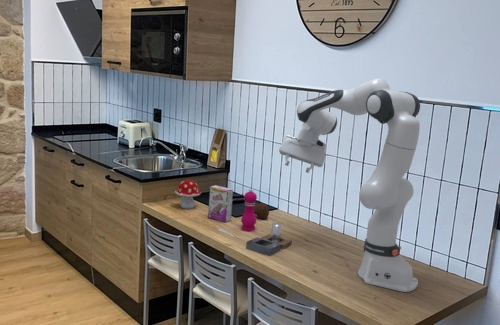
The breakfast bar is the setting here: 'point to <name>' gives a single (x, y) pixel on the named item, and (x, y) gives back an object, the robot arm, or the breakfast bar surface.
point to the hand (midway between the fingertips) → (296, 168)
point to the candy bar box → (220, 203)
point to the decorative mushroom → (187, 193)
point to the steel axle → (276, 232)
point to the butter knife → (225, 232)
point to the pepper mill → (249, 211)
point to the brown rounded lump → (261, 210)
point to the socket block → (263, 246)
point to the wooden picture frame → (283, 241)
